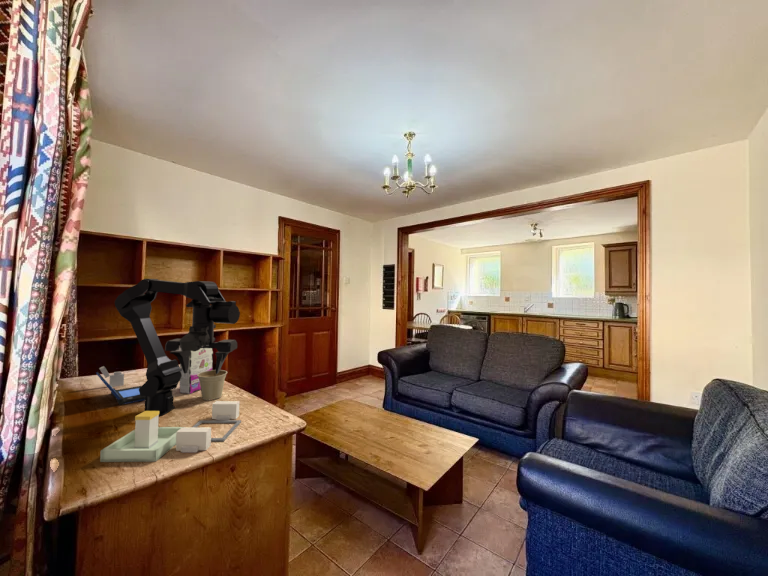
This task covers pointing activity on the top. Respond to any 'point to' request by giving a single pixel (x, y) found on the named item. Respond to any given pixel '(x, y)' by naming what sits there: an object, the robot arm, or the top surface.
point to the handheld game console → (124, 393)
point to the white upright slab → (114, 377)
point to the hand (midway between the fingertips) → (201, 373)
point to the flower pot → (211, 384)
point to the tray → (126, 452)
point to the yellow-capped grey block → (146, 429)
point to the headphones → (207, 428)
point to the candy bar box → (196, 369)
